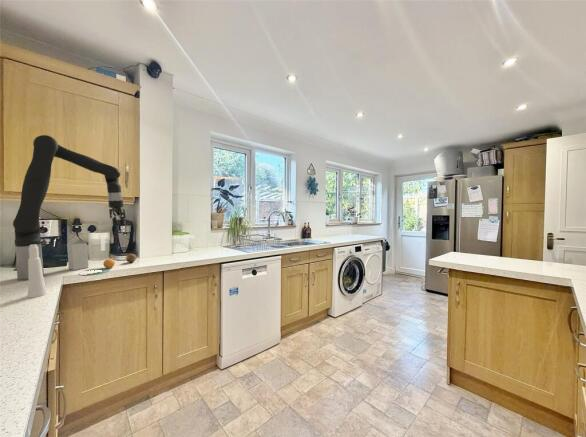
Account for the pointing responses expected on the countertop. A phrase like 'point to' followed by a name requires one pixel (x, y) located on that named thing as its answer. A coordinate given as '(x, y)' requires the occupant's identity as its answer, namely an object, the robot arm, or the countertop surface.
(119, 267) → the countertop surface
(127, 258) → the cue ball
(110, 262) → the object ball
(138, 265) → the countertop surface
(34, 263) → the cosmetic bottle
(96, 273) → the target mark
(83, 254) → the milk carton
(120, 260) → the countertop surface
